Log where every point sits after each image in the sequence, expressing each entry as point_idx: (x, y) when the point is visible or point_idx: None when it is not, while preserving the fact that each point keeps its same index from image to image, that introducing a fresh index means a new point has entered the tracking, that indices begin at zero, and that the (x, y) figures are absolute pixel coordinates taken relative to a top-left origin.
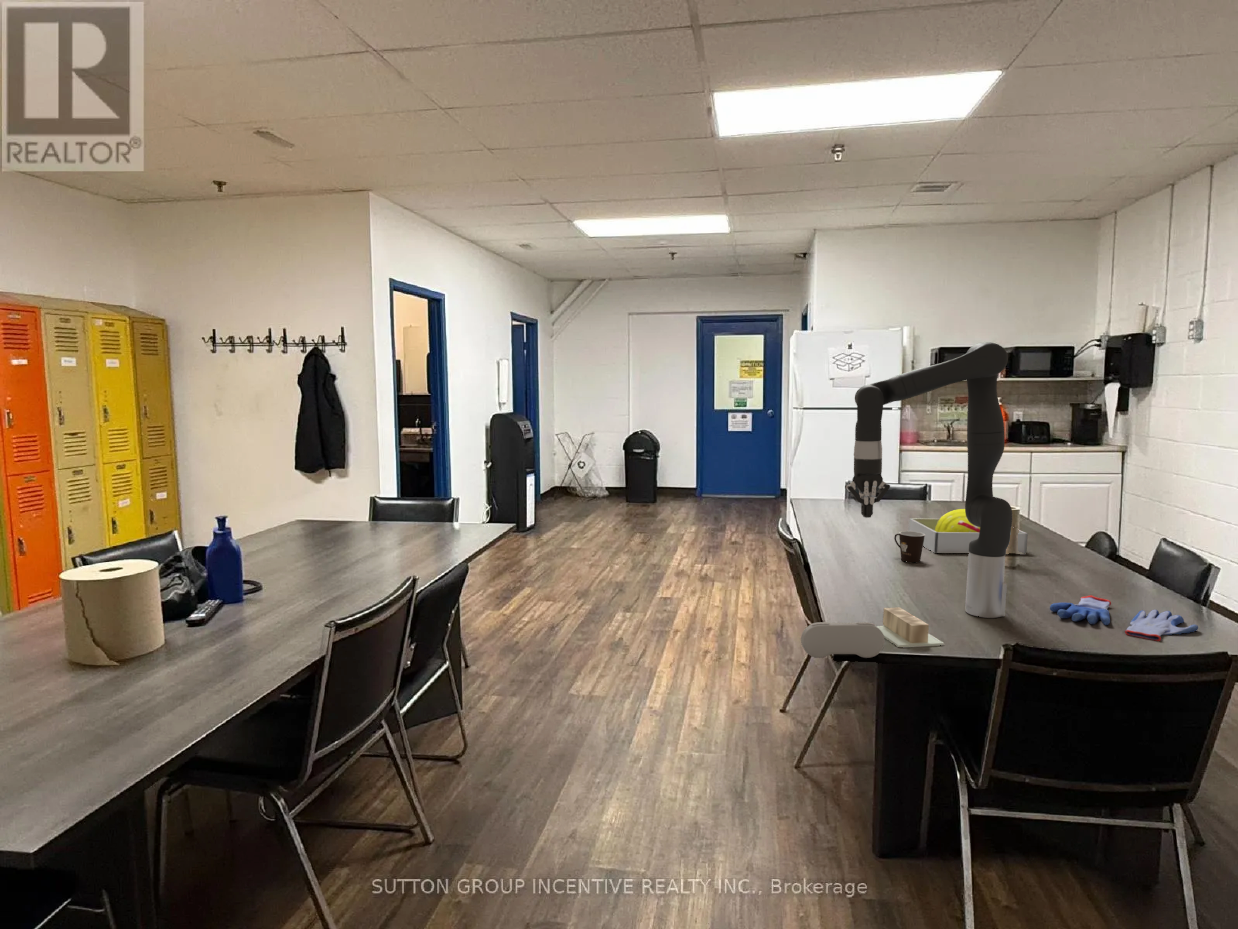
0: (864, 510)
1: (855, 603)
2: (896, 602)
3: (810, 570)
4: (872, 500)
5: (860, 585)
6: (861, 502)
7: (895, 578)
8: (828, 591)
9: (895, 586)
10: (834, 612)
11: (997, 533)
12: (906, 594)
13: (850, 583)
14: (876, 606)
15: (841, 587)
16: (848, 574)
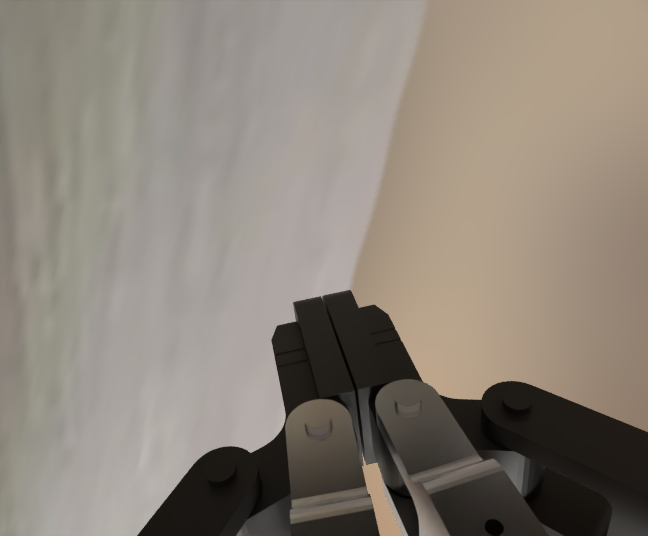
0: (385, 346)
1: (273, 138)
2: (87, 162)
3: None
4: (318, 448)
5: (192, 363)
6: (471, 407)
7: (35, 455)
8: (335, 282)
9: (52, 367)
10: (403, 2)
11: None
12: (21, 274)
13: (224, 380)
14: (192, 99)
15: (271, 333)
16: None
